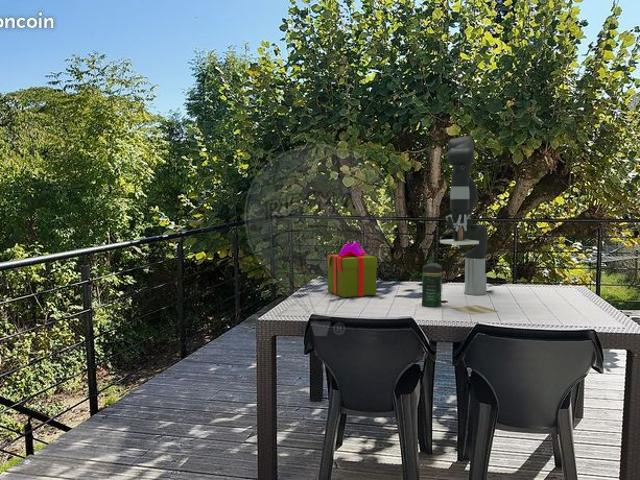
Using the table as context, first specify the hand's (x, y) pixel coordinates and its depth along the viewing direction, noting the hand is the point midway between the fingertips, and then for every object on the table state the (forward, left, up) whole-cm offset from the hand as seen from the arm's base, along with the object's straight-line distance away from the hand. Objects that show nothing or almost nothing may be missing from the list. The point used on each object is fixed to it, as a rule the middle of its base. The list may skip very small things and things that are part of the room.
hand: (459, 240), depth 235 cm
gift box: (+22, -51, -29) cm, 63 cm away
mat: (-4, +6, -29) cm, 30 cm away
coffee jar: (+6, -9, -29) cm, 31 cm away
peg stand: (0, 0, -1) cm, 1 cm away
